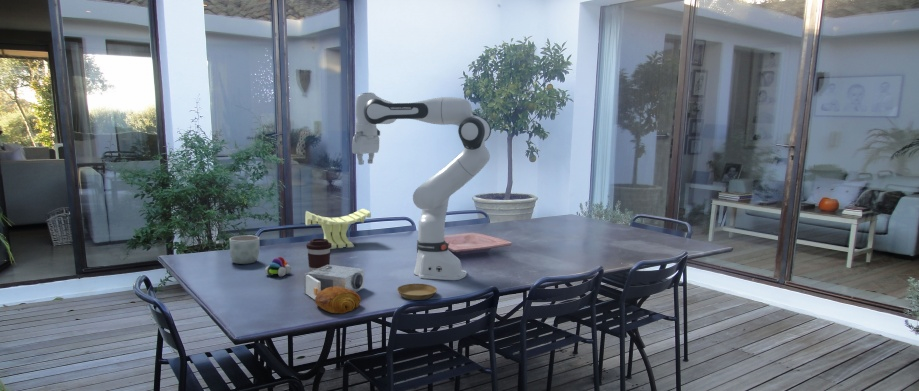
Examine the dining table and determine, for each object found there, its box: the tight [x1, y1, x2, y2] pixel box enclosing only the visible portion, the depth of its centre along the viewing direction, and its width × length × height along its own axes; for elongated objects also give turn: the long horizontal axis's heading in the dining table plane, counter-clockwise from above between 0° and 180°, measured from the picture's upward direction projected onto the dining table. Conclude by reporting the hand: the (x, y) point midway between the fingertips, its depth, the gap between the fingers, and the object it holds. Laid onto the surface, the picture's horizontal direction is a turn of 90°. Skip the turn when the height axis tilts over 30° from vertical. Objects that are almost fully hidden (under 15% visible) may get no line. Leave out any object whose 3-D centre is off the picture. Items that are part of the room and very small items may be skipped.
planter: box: [229, 235, 260, 265], centre depth 245 cm, size 12×12×11 cm
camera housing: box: [307, 264, 365, 293], centre depth 206 cm, size 17×14×8 cm
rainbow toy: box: [264, 256, 292, 278], centre depth 226 cm, size 8×10×7 cm
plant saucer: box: [396, 283, 438, 301], centre depth 204 cm, size 15×15×3 cm
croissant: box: [314, 286, 362, 314], centre depth 188 cm, size 14×16×8 cm
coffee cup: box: [305, 238, 332, 272], centre depth 225 cm, size 10×10×15 cm
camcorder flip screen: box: [303, 272, 321, 301], centre depth 197 cm, size 13×2×7 cm, turn 36°
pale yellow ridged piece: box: [304, 208, 372, 250], centre depth 286 cm, size 30×16×18 cm, turn 117°
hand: (365, 164), depth 236 cm, fingers open, 8 cm apart
